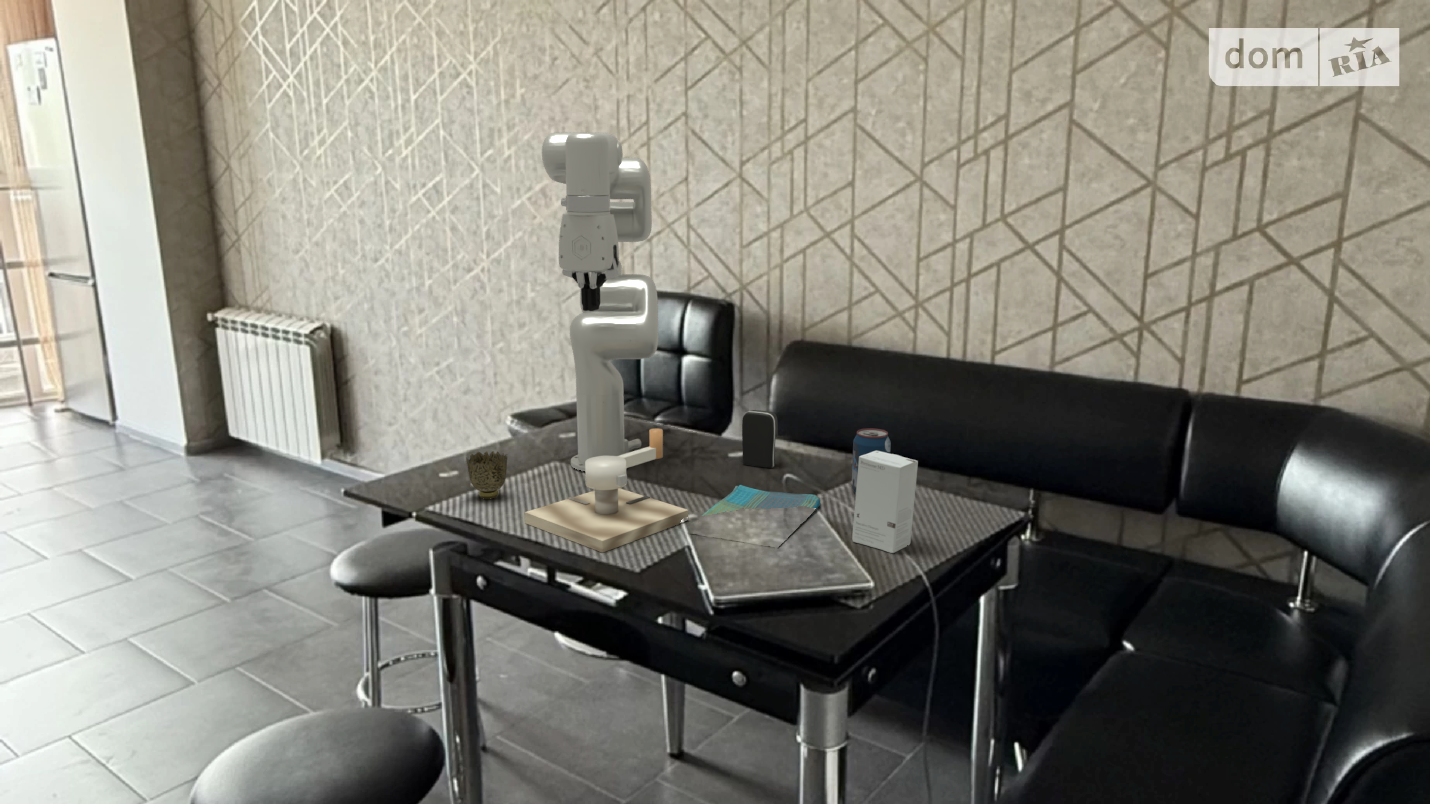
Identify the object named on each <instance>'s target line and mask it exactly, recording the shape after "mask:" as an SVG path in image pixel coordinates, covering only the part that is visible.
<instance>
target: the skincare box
mask: <svg viewBox="0 0 1430 804" xmlns="http://www.w3.org/2000/svg"><path fill="white" fill-rule="evenodd" d="M918 466H919V460H916V459H912V458H908V457H904V456H902V455H899V454H894V453H890V454H889V453H885V452H881V451H873V452H870V453H868V454H865V455H862V456H859V464H858V475H857V487H856V494H855V502H854V511H853V512H854V513H853V521H852V522H853V524H852V535H851V538H852V543H857V544H859V545H860V544H861V545H864V546H867V547H871V548H874V549H879V550H881V551H885V552H887V553H891V554H894V553H897V552H898V551H900V550H902V549H904V548H907V547H908V546H910V544H911V539H912V531H913V530H912V529H913V519H914V509H915V499H916V490H917V489H916V487H917V479H918V478H917V476H918ZM907 545H908V546H907Z"/></svg>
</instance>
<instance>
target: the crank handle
mask: <svg viewBox="0 0 1430 804" xmlns="http://www.w3.org/2000/svg"><path fill="white" fill-rule="evenodd" d="M648 433H649V442H648V443H649V444H648V445H649V446H646V447H642V448H639V449H635V450H634V451H629V452H628V453H626V454H623V455H619V456H597V457H592V458H589V459H587V460H586V461H585V486H586V487H587V488H588V489H593V490H595V489H596V490H613V489H618V488H620V489H622V488H623V487H625V486H626V485H627V484H628V475H627V469H628V468H631V467H634V466H638V465H641V464H644V463H647V462H650V461H653V460H658V459H662V458H663V457H664V445H663V444H664V436H663V435H664V431H663V429H662V428H658V427H657V428H650V429H649V431H648Z"/></svg>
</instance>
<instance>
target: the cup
mask: <svg viewBox="0 0 1430 804" xmlns="http://www.w3.org/2000/svg"><path fill="white" fill-rule="evenodd" d="M465 459H466V464H467V465H466V466H467V470H468V476H469V480H470V483H471V485H472V488H474V489H475V490H477V491H478V495H479V497H480V499H482V498H484V499H483V500H491V499H490V498H494V499H496V498H498V496H499V493H500V491H499V489H501V488H502V487H503V486H504V484H505V482H506V478H507V467H508V453H506V454H505V452H502V454H500V452H499V451H498V450H497V451H496V452H495V451H494V450H492V451H491V452H490V453H489V451H488V450H486V451H485V452H484V454H482V452H480V451H476V452H475V453H474V454H473V453H470V454H469V458H468V457H465Z"/></svg>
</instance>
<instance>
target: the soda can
mask: <svg viewBox="0 0 1430 804" xmlns="http://www.w3.org/2000/svg"><path fill="white" fill-rule="evenodd" d="M888 435H889V432H888V430H887V431H886V430H885V429H880V428H872V427H871V428H861V429H858V430H857V431H856V435H855V437H854V439H853V440H852V444H853V445H852V465H851V466H852V467H851V468H852V469H851V473H852V474H851V488H852V490H853V492H854V493H855V495H856V487H857V475H858V464H859V456H862V455H865V454H868V453H870V452H873V451H881V452H885V453H889V454H891V444H892V443H891V442H892V441H891V440H890V438H889V436H888Z"/></svg>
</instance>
